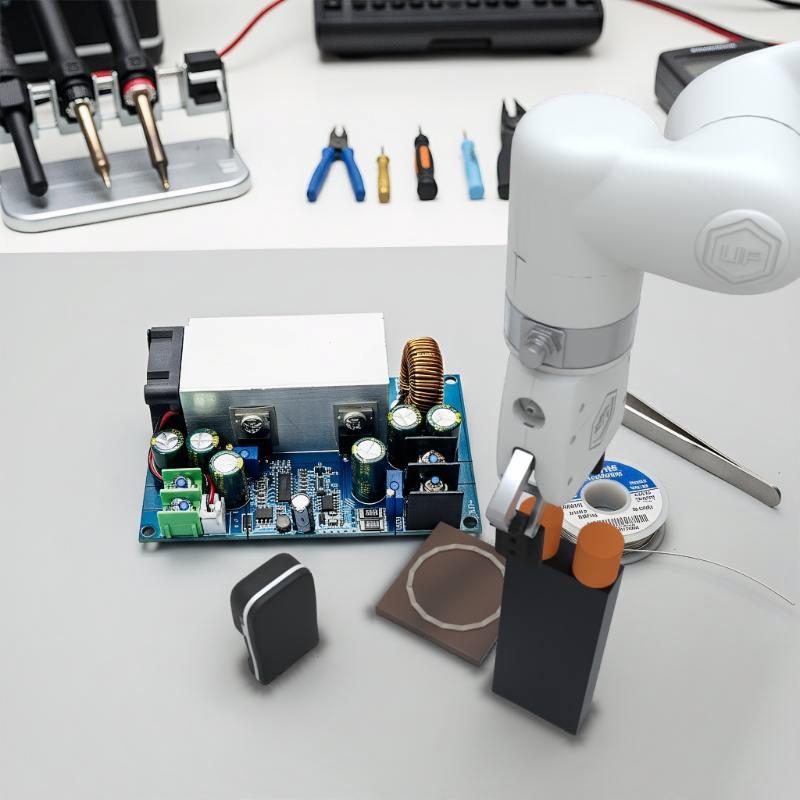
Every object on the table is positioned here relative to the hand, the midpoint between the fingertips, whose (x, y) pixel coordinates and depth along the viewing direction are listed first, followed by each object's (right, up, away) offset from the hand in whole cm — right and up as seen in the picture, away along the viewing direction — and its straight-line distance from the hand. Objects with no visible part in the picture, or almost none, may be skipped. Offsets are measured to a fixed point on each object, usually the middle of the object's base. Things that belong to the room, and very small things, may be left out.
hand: (550, 510), depth 68 cm
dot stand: (+2, -18, +17) cm, 25 cm away
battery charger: (-21, -15, +21) cm, 33 cm away
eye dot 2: (+4, -5, +3) cm, 6 cm away
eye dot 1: (0, -3, +4) cm, 5 cm away
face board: (-5, -11, +25) cm, 28 cm away
